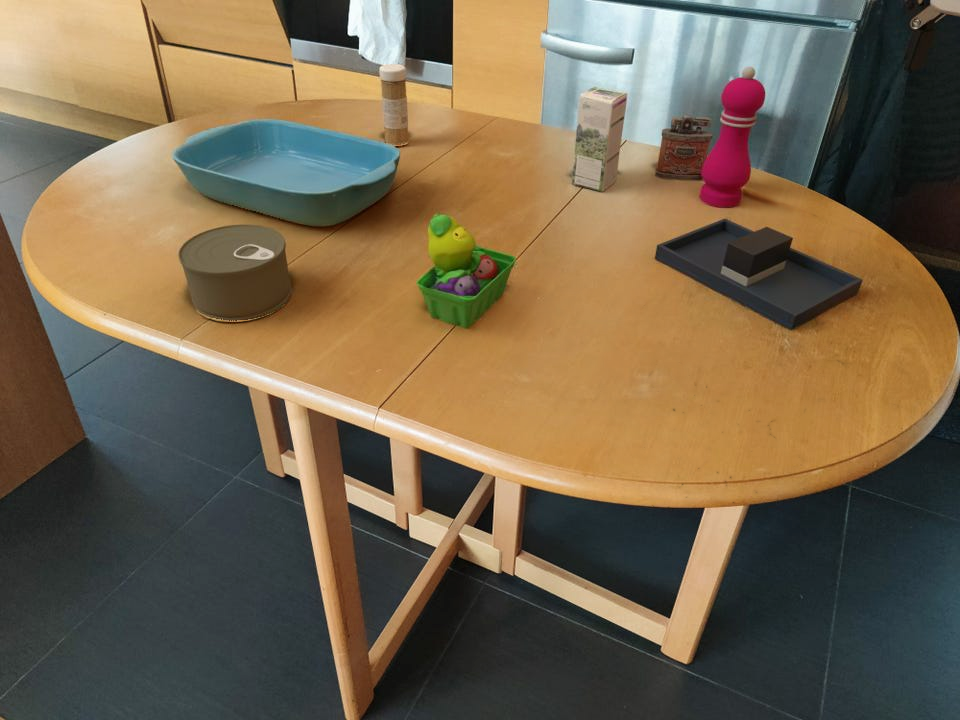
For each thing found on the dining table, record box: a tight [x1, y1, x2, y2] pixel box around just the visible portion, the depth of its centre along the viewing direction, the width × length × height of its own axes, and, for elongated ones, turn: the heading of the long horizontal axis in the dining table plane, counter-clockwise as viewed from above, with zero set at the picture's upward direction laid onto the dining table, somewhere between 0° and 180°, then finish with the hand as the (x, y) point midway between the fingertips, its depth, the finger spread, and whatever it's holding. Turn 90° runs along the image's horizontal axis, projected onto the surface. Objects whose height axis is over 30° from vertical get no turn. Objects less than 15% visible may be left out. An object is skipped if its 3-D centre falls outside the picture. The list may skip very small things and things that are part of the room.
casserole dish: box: [171, 118, 401, 228], centre depth 110 cm, size 37×22×7 cm, turn 61°
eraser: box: [721, 226, 794, 286], centre depth 92 cm, size 4×8×4 cm, turn 126°
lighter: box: [654, 114, 714, 182], centre depth 117 cm, size 8×3×10 cm, turn 82°
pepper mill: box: [699, 66, 766, 208], centre depth 107 cm, size 7×7×20 cm
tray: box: [654, 218, 864, 331], centre depth 93 cm, size 21×14×2 cm
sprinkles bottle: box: [378, 63, 410, 145], centre depth 127 cm, size 5×5×14 cm
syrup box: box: [571, 86, 628, 193], centre depth 113 cm, size 6×6×14 cm
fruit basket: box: [416, 213, 517, 330], centre depth 83 cm, size 11×9×11 cm
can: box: [177, 224, 292, 321], centre depth 85 cm, size 12×12×7 cm
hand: (959, 79), depth 74 cm, fingers open, 9 cm apart
